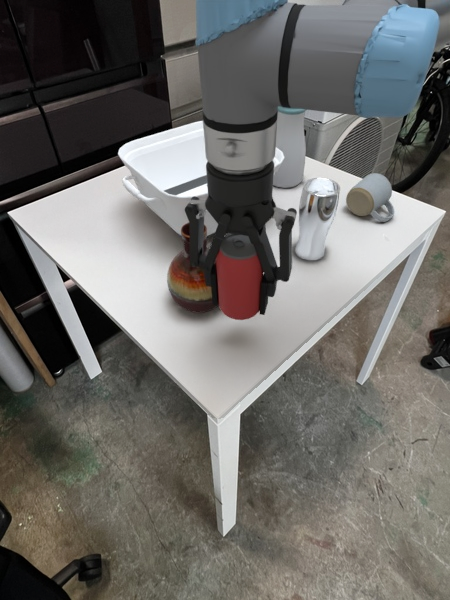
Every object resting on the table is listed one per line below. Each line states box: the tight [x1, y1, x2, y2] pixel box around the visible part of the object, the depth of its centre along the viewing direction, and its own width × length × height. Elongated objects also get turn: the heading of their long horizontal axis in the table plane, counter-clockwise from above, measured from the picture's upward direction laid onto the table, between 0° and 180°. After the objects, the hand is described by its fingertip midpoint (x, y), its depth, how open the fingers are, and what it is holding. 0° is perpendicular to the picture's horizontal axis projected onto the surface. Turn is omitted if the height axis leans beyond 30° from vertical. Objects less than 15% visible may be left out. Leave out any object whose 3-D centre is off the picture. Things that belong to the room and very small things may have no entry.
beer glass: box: [294, 177, 341, 261], centre depth 73 cm, size 7×7×15 cm
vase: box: [166, 223, 219, 313], centre depth 64 cm, size 11×11×15 cm
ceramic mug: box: [345, 172, 395, 223], centre depth 85 cm, size 11×8×8 cm
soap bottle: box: [273, 106, 307, 189], centre depth 91 cm, size 10×10×23 cm
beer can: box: [216, 233, 264, 321], centre depth 53 cm, size 7×7×12 cm
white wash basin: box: [117, 120, 284, 237], centre depth 83 cm, size 34×29×15 cm
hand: (240, 303), depth 57 cm, fingers closed on beer can, 7 cm apart
